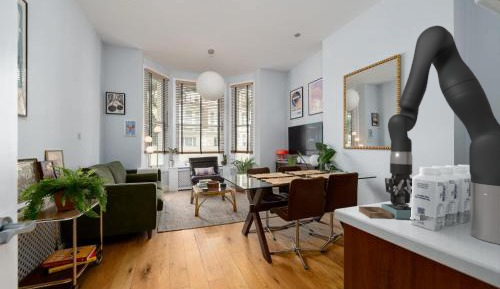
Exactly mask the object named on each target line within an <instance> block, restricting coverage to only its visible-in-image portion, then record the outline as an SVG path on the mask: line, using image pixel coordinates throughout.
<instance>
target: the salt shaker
mask: <svg viewBox="0 0 500 289" xmlns="http://www.w3.org/2000/svg"><path fill="white" fill-rule="evenodd" d="M405 196H406V195H404V187H402V188H400V190H398V193H397V204H393V203H391V204H392V205H393V208H394V209H396V210H407V209H408V206H409V207H410V205H409V203H405Z"/></svg>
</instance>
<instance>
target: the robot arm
mask: <svg viewBox="0 0 500 289" xmlns="http://www.w3.org/2000/svg"><path fill="white" fill-rule="evenodd" d="M412 57H413V58H412V62H411V66H410V70H409V73H408V77H407V81H406V84H405V86H404V89H403V91H402V93H401V96H400V99H399V101H398V106H399V108H400V112H399V113H396V114H394V115H392V116H391V117H390V118H389V119H388V123H387V129H388V130H387V131H388V135H389V138H390V156H389V173H390V174H391V176H390V177H386V178H384V182H385V183H384V186H385V192H386V193H388V194H390V196H389V197H390V204H392V203H393V204H397V193H398V190H400V188H402V187H404V195H406V196H405V203H406V204H410V202H411V195H412V194H413V193H412V178H413V177H411V176H412V175H413V153H412V152H413V148H412V147H413V143H412V139H411V138H410V137H409V133H408V132H411V130H413V129H414V127H415V126H416V124H417V121H418V116H419V110H420V105H421V104H422V101H423V99H424V96H425V94H426V91H427V89H428V82H429V75H430V70H431V68H432V66H434V68H435V71H436V74H437V78H438V79H437V80H438V84H439V85H438V86H439V88H440V91H441V94H442V95H443V97H444V99H445V101H446V103H447V104H448V106H449V108H450V109H451V110H452V112H453V113H454V114H455V116H456V117H457V119H459V120H460V122H461V123H462V125H463V126H464V127H465V129H466V132H467V134H468V136H469V139H470V143H469V144H470V145H469V150H468V151H469V152H468V154H469V156H468V157H469V158H468V159H469V175H470V176H469V177H470V214H469V215H470V217H469V218H470V219H469V229H470V230H469V235H471V236H472V237H474V238H476V239H479V240H481V241H485V242H488V243H493V244H497V245H500V123H499V122H498V120H497V119H496V116H495V115H494V113H493V109H492V107H491V104H490V102H489V99H488V96H487V94H486V92H485V90H484V88H483V86H482V85H481V83H480V82H479V80H478V78H477V77H476V75H475V74H474V72H473V71H472V70H471V68H470V67H469V65H468V64H467V63H465V61H464V60H463V58H462V56H461V54H460V53H459V50H458V47H457V45H456V42H455V38H454V36H453V34H452V33H451V32H450V31H449V30H448V29H447V28H446V27H444V26H442V25H432V26H430V27H427V28H426V29H424V30H423V31H422V32H421V33H420V34H419V35H418V37H417V39H416V44H415V47H414V52H413V56H412Z"/></svg>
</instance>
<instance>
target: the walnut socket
mask: <svg viewBox="0 0 500 289" xmlns="http://www.w3.org/2000/svg"><path fill="white" fill-rule="evenodd" d="M358 212H359V213H361V214H363V215H364V216H366V217H367V218H369V219H381V220H382V219H383V220H385V219H386V220H387V219H389V220H392V219H394V218H393V213H391V212H389V211H387V210H385V209H383V208H381V207H380V206H365V205H364V206H362V205H360V206H358Z"/></svg>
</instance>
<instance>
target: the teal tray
mask: <svg viewBox="0 0 500 289" xmlns="http://www.w3.org/2000/svg"><path fill="white" fill-rule="evenodd" d="M380 208H383V209H385V210H387V211H389V212H391V213H393V219H394V220H397V221H410V220H409V219H410V217H411V208H412V206H410V205H409V206H408V209H407V210H396V209H394V208H393V205H392V203H381V207H380Z"/></svg>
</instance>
